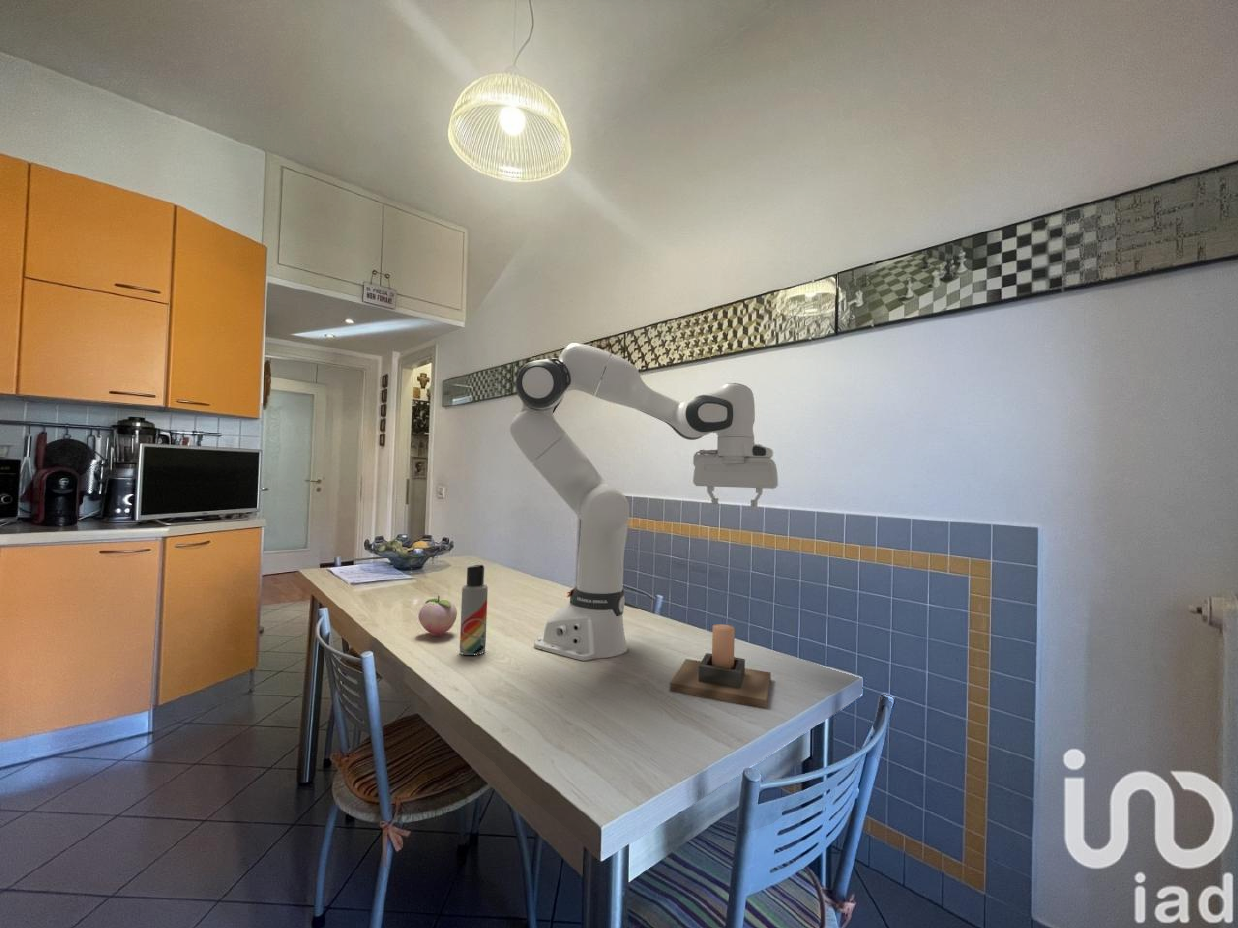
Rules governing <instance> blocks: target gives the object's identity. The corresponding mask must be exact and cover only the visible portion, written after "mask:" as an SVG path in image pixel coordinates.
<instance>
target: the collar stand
mask: <svg viewBox="0 0 1238 928" xmlns="http://www.w3.org/2000/svg"><path fill="white" fill-rule="evenodd" d="M745 664H746V658H740V657H735V656H734V669H728V668H722V667H716V666H712V653H709V652H706V653H705V655H704V656H703V659H702V660H694V659H689V658H685V659H684V661H683V663H682V664H681V665H680V667H679V669H678V670H677V671H676V673H675V675H674V676H673V678H672V679H671V680H670V682H669V692H674V693H675V692H676V693H680V694H686V695H690V696H691V695H692V696H697V697H702V698H708V699H713V700H719V701H723V702H729V703H733V704H734V703H736V704H740V705H746V706H751V707H756V708H761V709H767V705H768V698H769V693H770V685H771V679H772V677H771V672H770V671H764V670H757V669H752V668H746V665H745Z"/></svg>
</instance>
